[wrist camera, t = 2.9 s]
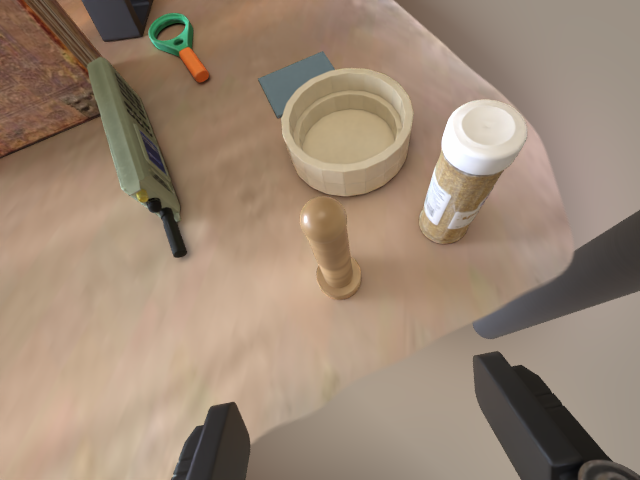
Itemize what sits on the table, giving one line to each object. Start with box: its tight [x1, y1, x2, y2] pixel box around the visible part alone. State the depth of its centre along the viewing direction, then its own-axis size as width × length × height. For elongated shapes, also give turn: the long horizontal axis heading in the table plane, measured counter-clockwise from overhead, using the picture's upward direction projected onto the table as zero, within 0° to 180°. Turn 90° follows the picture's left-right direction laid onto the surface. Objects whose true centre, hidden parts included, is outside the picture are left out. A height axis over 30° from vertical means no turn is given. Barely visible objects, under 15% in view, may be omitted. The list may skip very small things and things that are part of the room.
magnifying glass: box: [149, 13, 209, 82], centre depth 46 cm, size 15×6×2 cm, turn 32°
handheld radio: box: [87, 57, 187, 258], centre depth 36 cm, size 7×3×25 cm
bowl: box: [281, 68, 414, 196], centre depth 35 cm, size 13×13×5 cm
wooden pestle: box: [300, 196, 361, 300], centre depth 25 cm, size 4×4×14 cm
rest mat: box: [258, 51, 335, 118], centre depth 41 cm, size 9×7×1 cm
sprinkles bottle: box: [419, 99, 527, 244], centre depth 26 cm, size 5×5×14 cm
